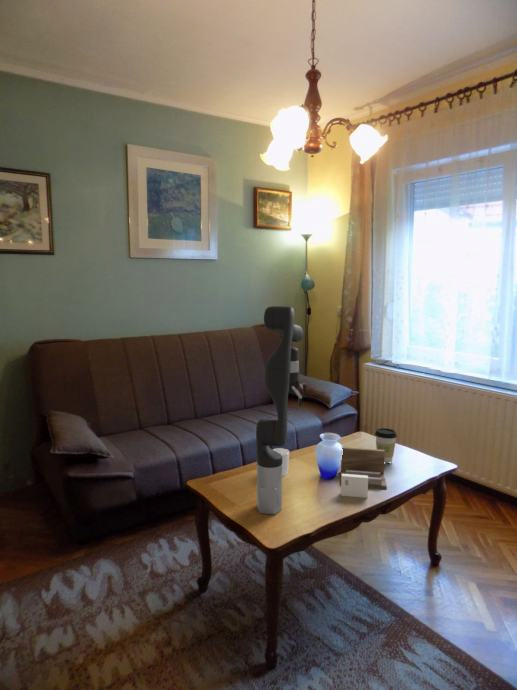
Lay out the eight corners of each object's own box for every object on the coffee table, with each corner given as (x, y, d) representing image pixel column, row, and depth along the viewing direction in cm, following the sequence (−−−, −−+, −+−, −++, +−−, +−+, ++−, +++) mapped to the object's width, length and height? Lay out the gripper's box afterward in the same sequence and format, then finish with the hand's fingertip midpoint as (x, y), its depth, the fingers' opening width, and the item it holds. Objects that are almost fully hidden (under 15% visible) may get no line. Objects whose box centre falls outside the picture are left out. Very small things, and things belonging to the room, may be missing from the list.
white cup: (289, 470, 197) (289, 448, 196) (288, 477, 189) (289, 455, 188) (271, 469, 198) (271, 447, 196) (270, 476, 190) (270, 454, 189)
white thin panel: (367, 498, 171) (368, 478, 170) (341, 495, 173) (341, 476, 172) (367, 495, 174) (367, 475, 173) (341, 492, 175) (341, 473, 174)
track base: (386, 489, 179) (387, 462, 177) (340, 485, 182) (341, 459, 181) (383, 475, 192) (384, 450, 191) (340, 471, 196) (341, 447, 194)
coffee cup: (369, 459, 210) (370, 428, 208) (387, 457, 213) (389, 426, 211) (381, 467, 201) (382, 435, 199) (400, 465, 204) (401, 433, 202)
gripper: (274, 371, 196) (273, 407, 198) (307, 372, 195) (306, 408, 197) (274, 368, 203) (274, 403, 205) (305, 369, 203) (305, 404, 204)
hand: (289, 406), depth 201 cm, fingers open, 8 cm apart
